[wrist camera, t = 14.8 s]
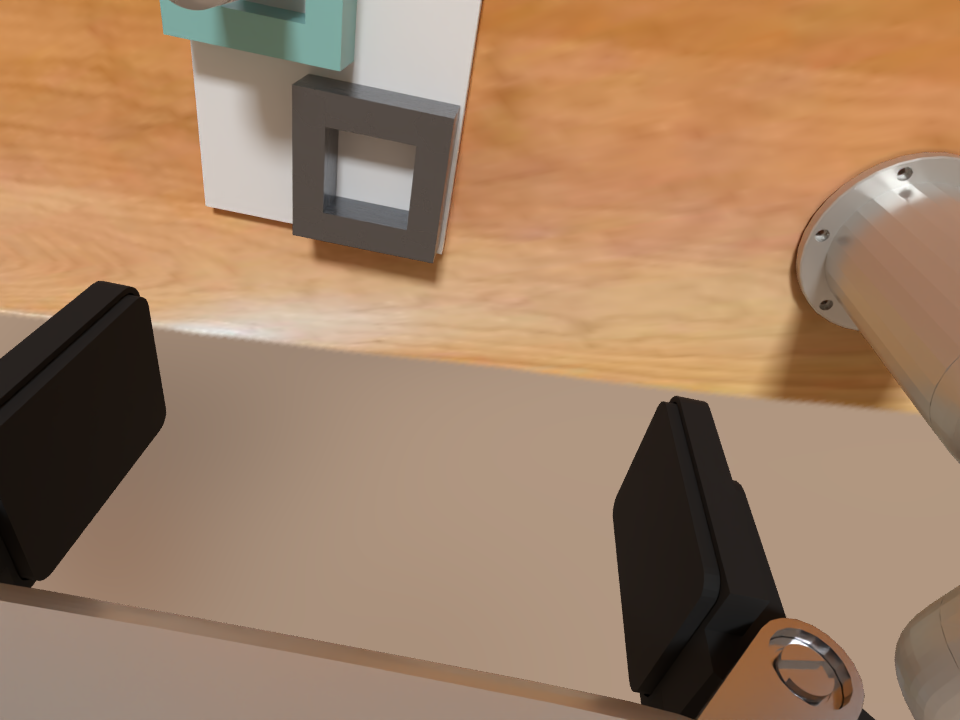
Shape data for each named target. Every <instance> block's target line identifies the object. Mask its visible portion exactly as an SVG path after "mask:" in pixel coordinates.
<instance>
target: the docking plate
mask: <svg viewBox="0 0 960 720" xmlns="http://www.w3.org/2000/svg"><path fill="white" fill-rule="evenodd" d="M244 1H249V2H254V3H258V4H263V5H268V6H272V7H277V8H282V9H286V10H291V11H296V12H300V13H305V2H306V0H244ZM481 6H482V0H357V9H356V29H355V49H354V61H353V62H352V63H351V64H349V65H348V66H347V67H345V68H344V69H343V70H341V71H336V70H331V69H326V68H322V67H317V66H312V65H307V64H303V63H298V62H293V61H289V60H284V59H279V58H274V57H270V56H265V55H260V54H256V53H251V52H246V51H241V50H237V49H232V48H227V47H222V46H218V45H213V44H208V43H204V42H199V41H194V40H190V42H191V52H192V63H193V74H194V85H195V96H196V106H197V117H198V128H199V139H200V149H201V160H202V171H203V182H204V193H205V203H206V206H208V207H213V208H218V209H223V210H228V211H233V212H238V213H243V214H247V215H252V216H257V217H262V218H267V219H272V220H277V221H282V222H287V223H291V224H293V202H292V84H294V83H295V82H297V81H298V80H300V79H301V78H303V77H304V76H306V75H307V74H313V75H318V76H322V77H327V78H332V79H337V80H341V81H346V82H351V83H355V84H360V85H365V86H370V87H374V88H379V89H384V90H389V91H393V92H398V93H403V94H407V95H412V96H417V97H422V98H426V99H431V100H436V101H441V102H445V103H450V104H455V105H460V113H459V120H458V126H457V133H456V139H455V146H454V153H453V159H452V166H451V173H450V179H449V186H448V192H447V199H446V206H445V212H444V219H443V225H442V232H441V239H440V245H439V248H438V251H437V253H438V254H442V252H443V249H444V243H445V236H446V230H447V224H448V217H449V211H450V204H451V198H452V192H453V185H454V179H455V172H456V166H457V159H458V153H459V147H460V140H461V134H462V127H463V121H464V115H465V108H466V102H467V95H468V89H469V83H470V76H471V70H472V63H473V57H474V50H475V44H476V38H477V31H478V25H479V18H480V12H481ZM415 154H416V146H414V145H409V144H405V143H400V142H395V141H390V140H385V139H381V138H376V137H371V136H366V135H362V134H357V133H352V132H347V131H342V130H339V137H338V163H337V188H336V196H339V197H344V198H349V199H354V200H359V201H364V202H369V203H373V204H378V205H383V206H388V207H393V208H398V209H403V210H407V211H409V207H410V198H411V189H412V180H413V172H414V163H415Z"/></svg>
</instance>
